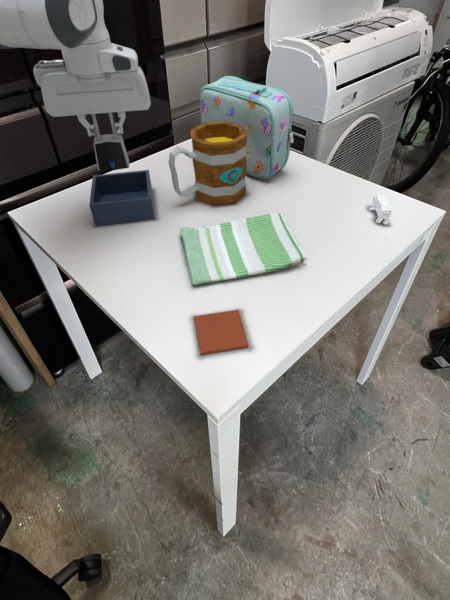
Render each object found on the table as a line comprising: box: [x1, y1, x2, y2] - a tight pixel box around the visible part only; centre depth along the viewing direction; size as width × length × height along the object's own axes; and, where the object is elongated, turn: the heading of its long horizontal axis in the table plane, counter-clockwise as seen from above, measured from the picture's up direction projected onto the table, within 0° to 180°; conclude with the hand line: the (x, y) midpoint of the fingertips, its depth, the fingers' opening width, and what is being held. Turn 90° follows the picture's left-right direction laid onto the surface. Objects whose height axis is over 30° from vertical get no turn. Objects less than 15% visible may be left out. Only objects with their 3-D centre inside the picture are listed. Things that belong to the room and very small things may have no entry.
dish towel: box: [179, 212, 307, 286], centre depth 78 cm, size 18×23×3 cm
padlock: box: [91, 112, 130, 172], centre depth 78 cm, size 7×4×15 cm, turn 100°
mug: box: [168, 121, 248, 207], centre depth 89 cm, size 20×14×15 cm
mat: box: [193, 309, 249, 356], centre depth 63 cm, size 8×8×1 cm
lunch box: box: [199, 75, 295, 180], centre depth 97 cm, size 27×10×21 cm, turn 48°
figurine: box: [368, 195, 392, 226], centre depth 85 cm, size 2×8×5 cm, turn 1°
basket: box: [88, 169, 156, 227], centre depth 89 cm, size 14×14×6 cm
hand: (106, 134), depth 78 cm, fingers closed on padlock, 4 cm apart
